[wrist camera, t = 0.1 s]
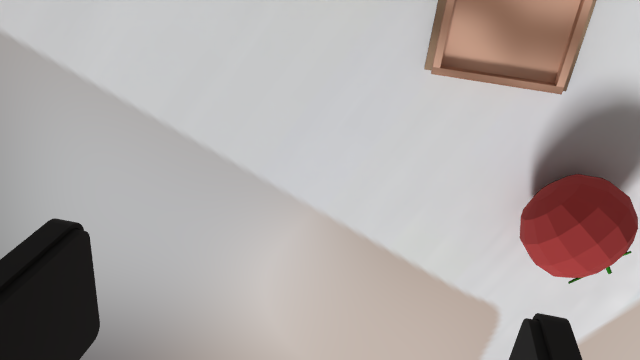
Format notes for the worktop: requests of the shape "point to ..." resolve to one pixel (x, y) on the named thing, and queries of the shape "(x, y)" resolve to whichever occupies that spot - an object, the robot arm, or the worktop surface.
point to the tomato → (578, 226)
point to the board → (509, 41)
